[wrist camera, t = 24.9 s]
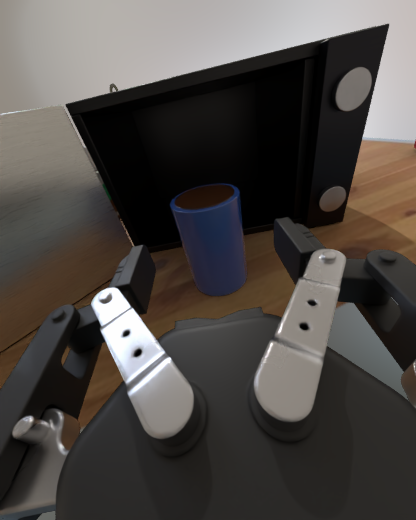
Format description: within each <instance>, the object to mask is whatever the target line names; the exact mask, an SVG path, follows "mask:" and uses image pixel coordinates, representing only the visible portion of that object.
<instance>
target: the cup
mask: <svg viewBox="0 0 416 520" xmlns="http://www.w3.org/2000/svg"><path fill="white" fill-rule="evenodd" d="M170 208H171V211H172V214H173V217H174V220H175V223H176V227H177V230H178V233H179V236H180V239H181V242H182V245H183V249H184V252H185V255H186V258H187V261H188V264H189V268H190V271H191V274H192V277H193V280H194V283H195V286H196V287H197V289H198V290H199V291H201V292H202V293H204V294H207V295H211V296H223V295H227V294H231V293H233V292H235V291H237V290H238V289H240V288H241V287H242V286H243V285H244V283H245V281H246V279H247V265H246V254H245V244H244V233H243V222H242V212H241V201H240V191H239V189H238V188H237V187H236V186H233V185H229V184H210V185H204V186H199V187H196V188H192V189H190V190H187V191H185V192H183V193H181V194H179V195H177V196H176V197H175V198H174V199H173V200H172V201H171V203H170Z"/></svg>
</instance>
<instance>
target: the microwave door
mask: <svg viewBox="0 0 416 520" xmlns="http://www.w3.org/2000/svg"><path fill="white" fill-rule="evenodd" d="M132 247H133V246H132V244H131V242H130V240H129V238H128V236H127V234H126V232H125V230H124V228H123V226H122V224H121V222H120V220H119V218H118V216H117V214H116V212H115V210H114V208H113V206H112V204H111V202H110V200H109V198H108V196H107V194H106V192H105V190H104V188H103V186H102V184H101V182H100V180H99V178H98V176H97V174H96V172H95V170H94V168H93V166H92V164H91V162H90V160H89V158H88V156H87V154H86V152H85V150H84V148H83V146H82V144H81V142H80V140H79V138H78V136H77V134H76V132H75V130H74V128H73V125H72V123H71V122H70V119H69V117H68V115H67V113H66V112H65V109H64V107H63V106H62V105H57V106H51V107H44V108H38V109H31V110H25V111H18V112H11V113H5V114H0V352H1V351H3V350H4V349H6V348H7V347H9V346H10V345H12V344H13V343H15V342H16V341H18V340H19V339H21V338H22V337H24V336H25V335H27V334H28V333H30V332H31V331H33V330H34V329H36V328H37V327H39V326H40V325H42V323H43V322H44V320H45V319H46V317H47V316H48V315H49V314H50V313H51V312H53V311H54V310H55V309H57V308H59V307H61V306H64V305H72V304H74V303H75V302H77V301H78V300H80V299H81V298H83V297H84V296H86V295H87V294H89V293H90V292H92V291H93V290H95V289H96V288H98V287H99V286H101V285H102V284H104V283H105V282H107V281H108V280H110V279H111V278H113V277H114V274H115V273H116V270H117V269H118V266H119V264H120V262H121V261H122V260H123V259H124V258H125V257H126V256H128V255H129V253H130V251H131V248H132Z"/></svg>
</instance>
